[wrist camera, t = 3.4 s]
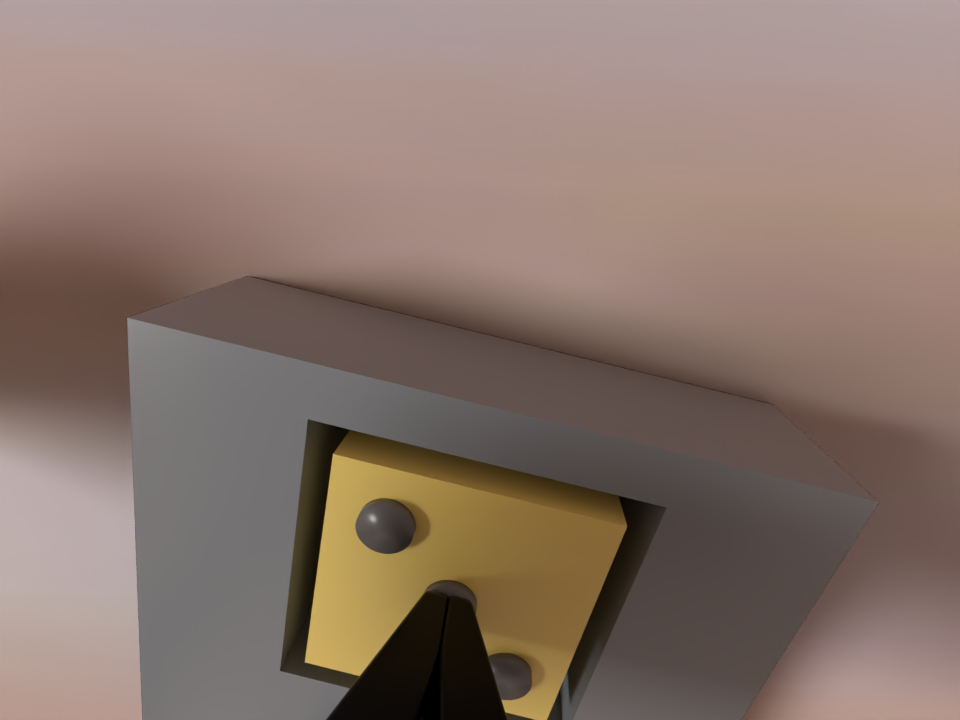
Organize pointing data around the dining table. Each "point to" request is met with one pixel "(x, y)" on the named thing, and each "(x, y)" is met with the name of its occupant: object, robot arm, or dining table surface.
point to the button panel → (473, 435)
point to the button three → (460, 560)
